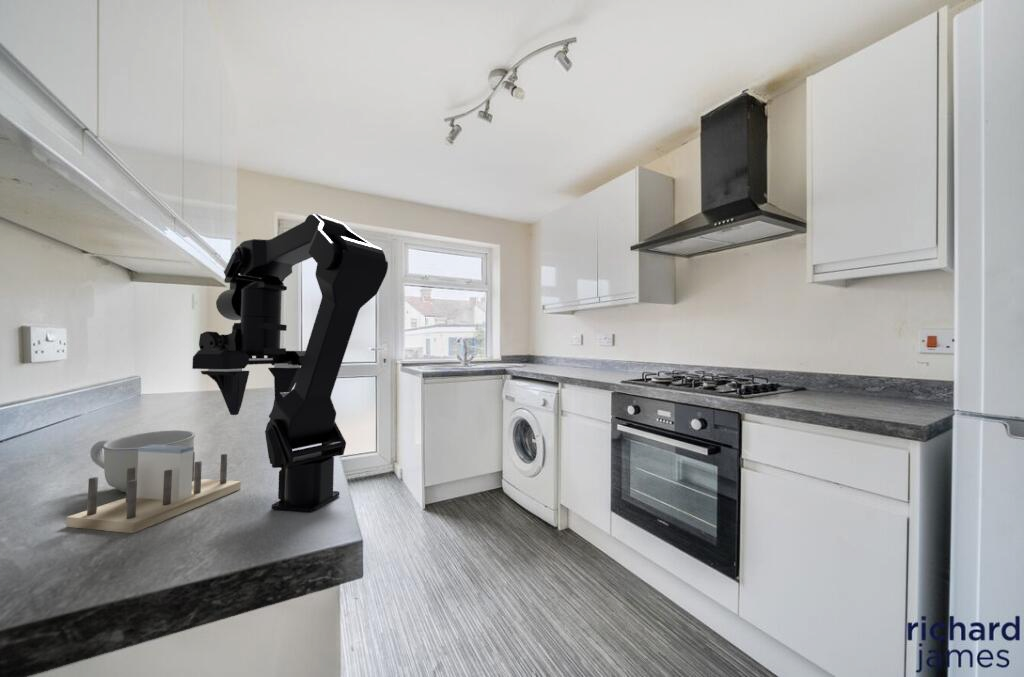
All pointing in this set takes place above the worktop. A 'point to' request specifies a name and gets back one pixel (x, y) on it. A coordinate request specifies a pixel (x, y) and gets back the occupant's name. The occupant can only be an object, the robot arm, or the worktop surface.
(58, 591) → the worktop surface
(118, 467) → the teacup
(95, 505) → the dish rack
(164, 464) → the white square block
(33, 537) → the worktop surface
